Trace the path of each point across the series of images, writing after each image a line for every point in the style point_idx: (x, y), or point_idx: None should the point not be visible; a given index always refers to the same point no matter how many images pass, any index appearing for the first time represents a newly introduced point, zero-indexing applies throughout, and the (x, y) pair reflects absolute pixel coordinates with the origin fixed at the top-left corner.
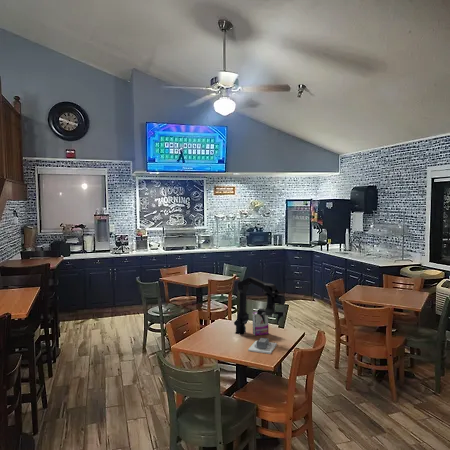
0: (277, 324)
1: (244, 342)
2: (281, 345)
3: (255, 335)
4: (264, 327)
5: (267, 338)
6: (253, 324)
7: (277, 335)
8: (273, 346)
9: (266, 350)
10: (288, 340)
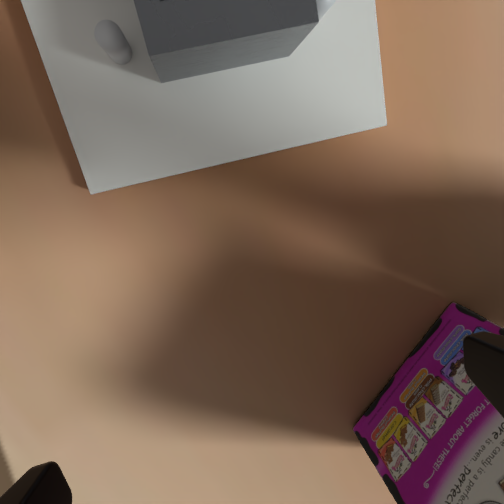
0: (13, 490)
1: (496, 22)
2: (25, 199)
3: (455, 304)
4: (435, 456)
5: (175, 37)
6: None
7: (253, 452)
8: (47, 23)
9: None
10: (62, 402)
